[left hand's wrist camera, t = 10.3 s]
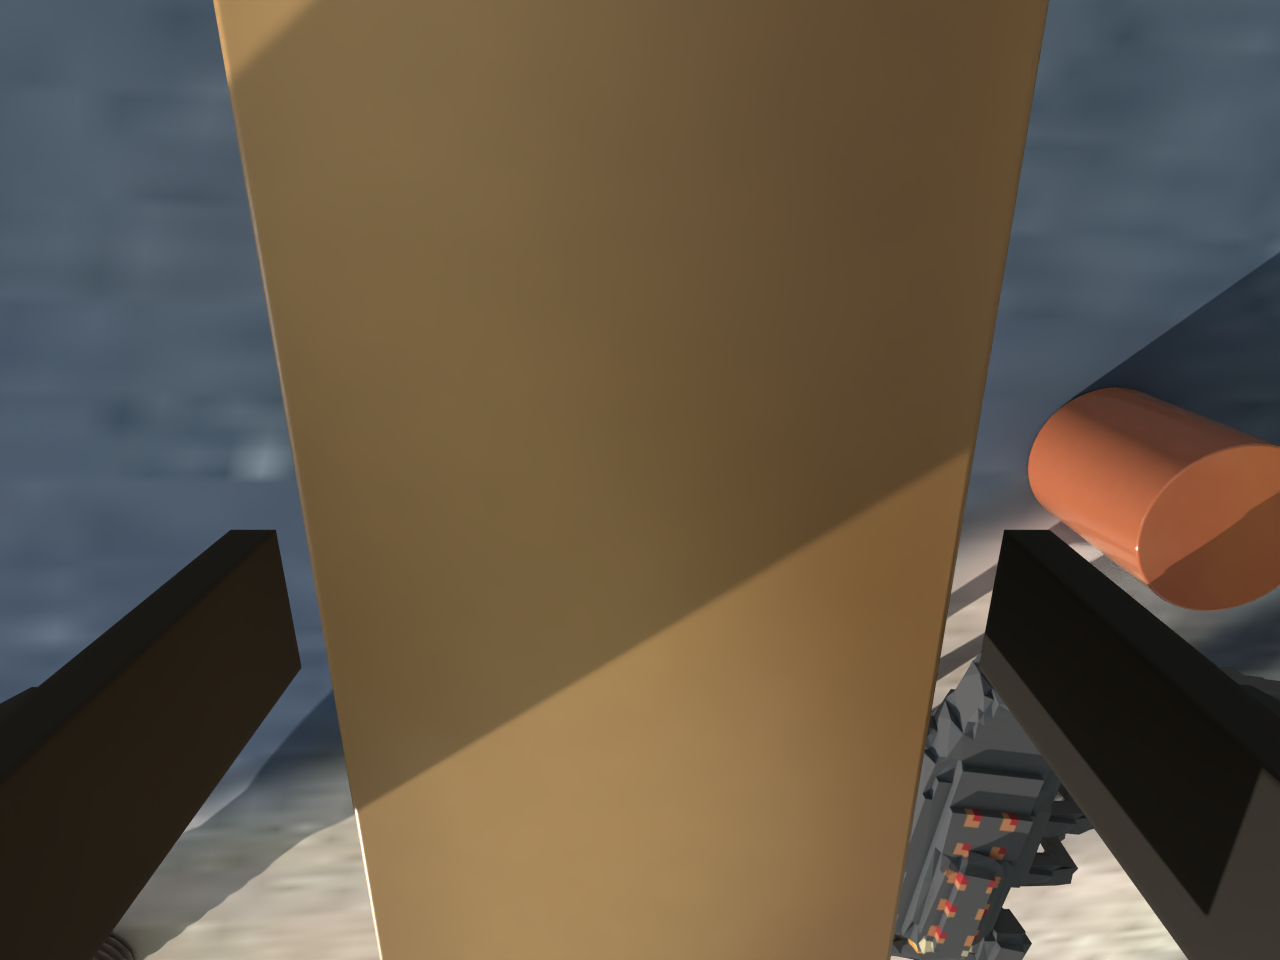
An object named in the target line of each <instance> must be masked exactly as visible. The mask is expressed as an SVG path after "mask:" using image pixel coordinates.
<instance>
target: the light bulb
mask: <svg viewBox="0 0 1280 960" xmlns="http://www.w3.org/2000/svg"><path fill="white" fill-rule="evenodd" d="M92 960H133V958H132V956H131V953H130V952H129V951H128V949H127V948H126V947H125V946H124V945H123V944H121V943H120V942H119V941H117V940H116V939H114V938H112V937H110V936H108V937H107V939H106V940H105V942H104V943H103V944H102V946H101V947H100V949H99V950H98V951H97V953H96V954H95V955H94V957H93V958H92Z"/></svg>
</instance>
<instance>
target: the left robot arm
mask: <svg viewBox="0 0 1280 960" xmlns="http://www.w3.org/2000/svg"><path fill="white" fill-rule="evenodd" d="M300 669H301V662H300V657H299V652H298V646H297V641H296V636H295V630H294V625H293V620H292V614H291V609H290V604H289V598H288V593H287V587H286V582H285V577H284V571H283V566H282V561H281V555H280V550H279V545H278V539H277V534H276V530H230V531H229V532H228V533H226V534H225V535H224V536H223V537H221V538H220V539H219V540H218V541H216V542H215V543H214V544H213V545H212V546H210V547H209V548H208V549H207V550H205V551H204V552H203V553H202V554H201V555H199V556H198V557H197V558H196V559H194V560H193V561H192V562H191V563H189V564H188V565H187V566H186V567H185V568H183V569H182V570H181V571H180V572H178V573H177V574H176V575H175V576H174V577H172V578H171V579H170V580H169V581H167V582H166V583H165V584H164V585H163V586H161V587H160V588H159V589H158V590H156V591H155V592H154V593H153V594H151V595H150V596H149V597H148V598H147V599H145V600H144V601H143V602H142V603H140V604H139V605H138V606H137V607H136V608H134V609H133V610H132V611H131V612H129V613H128V614H127V615H126V616H124V617H123V618H122V619H121V620H120V621H118V622H117V623H116V624H115V625H113V626H112V627H111V628H110V629H109V630H107V631H106V632H105V633H104V634H102V635H101V636H100V637H99V638H98V639H96V640H95V641H94V642H93V643H91V644H90V645H89V646H88V647H86V648H85V649H84V650H83V651H82V652H80V653H79V654H78V655H77V656H75V657H74V658H73V659H72V660H71V661H69V662H68V663H67V664H66V665H64V666H63V667H62V668H61V669H60V670H58V671H57V672H56V673H55V674H53V675H52V676H51V677H50V678H48V679H47V680H46V681H45V682H44V683H42V684H41V685H40V686H39V687H31V688H29V689H27V690H25V691H23V692H22V693H20V694H18V695H16V696H14V697H12V698H10V699H8V700H6V701H5V702H3V703H1V704H0V960H92V958H93V957H94V955H95V954H96V953H97V951H98V950H99V949H100V947H101V946H102V944H103V943H104V942H105V940H106V939H107V937H108V936H109V935H110V933H111V932H112V930H113V929H114V928H115V926H116V925H117V923H118V922H119V921H120V919H121V918H122V917H123V915H124V914H125V912H126V911H127V910H128V908H129V907H130V905H131V904H132V903H133V901H134V900H135V898H136V897H137V896H138V894H139V893H140V891H141V890H142V889H143V887H144V886H145V885H146V883H147V882H148V880H149V879H150V878H151V876H152V875H153V873H154V872H155V871H156V869H157V868H158V866H159V865H160V864H161V862H162V861H163V859H164V858H165V857H166V855H167V854H168V852H169V851H170V850H171V848H172V847H173V846H174V844H175V843H176V841H177V840H178V839H179V837H180V836H181V834H182V833H183V832H184V830H185V829H186V827H187V826H188V825H189V823H190V822H191V820H192V819H193V818H194V816H195V815H196V814H197V812H198V811H199V809H200V808H201V807H202V805H203V804H204V802H205V801H206V800H207V798H208V797H209V795H210V794H211V793H212V791H213V790H214V788H215V787H216V786H217V784H218V783H219V781H220V780H221V779H222V777H223V776H224V775H225V773H226V772H227V770H228V769H229V768H230V766H231V765H232V763H233V762H234V761H235V759H236V758H237V756H238V755H239V754H240V752H241V751H242V749H243V748H244V747H245V745H246V744H247V743H248V741H249V740H250V738H251V737H252V736H253V734H254V733H255V731H256V730H257V729H258V727H259V726H260V724H261V723H262V722H263V720H264V719H265V717H266V716H267V715H268V713H269V712H270V710H271V709H272V708H273V706H274V705H275V704H276V702H277V701H278V699H279V698H280V697H281V695H282V694H283V692H284V691H285V690H286V688H287V687H288V685H289V684H290V683H291V681H292V680H293V678H294V677H295V676H296V674H297V673H298V672H299V670H300ZM979 669H980V670H981V672H982V673H983V674H984V676H985V677H986V678H987V680H988V681H989V683H990V684H991V685H992V687H993V688H994V690H995V691H996V692H997V694H998V695H999V697H1000V698H1001V699H1002V701H1003V702H1004V704H1005V705H1006V706H1007V708H1008V709H1009V711H1010V712H1011V713H1012V715H1013V716H1014V717H1015V719H1016V720H1017V722H1018V723H1019V724H1020V726H1021V727H1022V729H1023V730H1024V731H1025V733H1026V734H1027V736H1028V737H1029V738H1030V740H1031V741H1032V743H1033V744H1034V745H1035V747H1036V748H1037V749H1038V751H1039V752H1040V754H1041V755H1042V756H1043V758H1044V759H1045V761H1046V762H1047V763H1048V765H1049V766H1050V768H1051V769H1052V770H1053V772H1054V773H1055V775H1056V776H1057V777H1058V779H1059V780H1060V782H1061V783H1062V784H1063V786H1064V787H1065V788H1066V790H1067V791H1068V793H1069V794H1070V795H1071V797H1072V798H1073V800H1074V801H1075V802H1076V804H1077V805H1078V807H1079V808H1080V809H1081V811H1082V812H1083V814H1084V815H1085V816H1086V818H1087V819H1088V820H1089V822H1090V823H1091V825H1092V826H1093V827H1094V829H1095V830H1096V832H1097V833H1098V834H1099V836H1100V837H1101V839H1102V840H1103V841H1104V843H1105V844H1106V846H1107V847H1108V848H1109V850H1110V851H1111V853H1112V854H1113V855H1114V857H1115V858H1116V859H1117V861H1118V862H1119V864H1120V865H1121V866H1122V868H1123V869H1124V871H1125V872H1126V873H1127V875H1128V876H1129V878H1130V879H1131V880H1132V882H1133V883H1134V885H1135V886H1136V887H1137V889H1138V890H1139V891H1140V893H1141V894H1142V896H1143V897H1144V898H1145V900H1146V901H1147V903H1148V904H1149V905H1150V907H1151V908H1152V910H1153V911H1154V912H1155V914H1156V915H1157V917H1158V918H1159V919H1160V921H1161V922H1162V924H1163V925H1164V926H1165V928H1166V929H1167V930H1168V932H1169V933H1170V935H1171V936H1172V937H1173V939H1174V940H1175V942H1176V943H1177V944H1178V946H1179V947H1180V949H1181V950H1182V951H1183V953H1184V954H1185V956H1186V957H1187V958H1188V960H1280V700H1278V699H1276V698H1274V697H1272V696H1270V695H1268V694H1266V693H1264V692H1262V691H1261V690H1259V689H1257V688H1255V687H1253V686H1251V685H1239V684H1238V683H1236V682H1235V681H1234V680H1233V679H1232V678H1230V677H1229V676H1228V675H1227V674H1225V673H1224V672H1223V671H1222V670H1220V669H1219V668H1218V667H1217V666H1216V665H1214V664H1213V663H1212V662H1211V661H1209V660H1208V659H1207V658H1206V657H1205V656H1203V655H1202V654H1201V653H1200V652H1198V651H1197V650H1196V649H1195V648H1194V647H1192V646H1191V645H1190V644H1189V643H1187V642H1186V641H1185V640H1184V639H1182V638H1181V637H1180V636H1179V635H1178V634H1176V633H1175V632H1174V631H1173V630H1171V629H1170V628H1169V627H1168V626H1167V625H1165V624H1164V623H1163V622H1162V621H1160V620H1159V619H1158V618H1157V617H1155V616H1154V615H1153V614H1152V613H1151V612H1149V611H1148V610H1147V609H1146V608H1144V607H1143V606H1142V605H1141V604H1140V603H1138V602H1137V601H1136V600H1135V599H1133V598H1132V597H1131V596H1130V595H1129V594H1127V593H1126V592H1125V591H1124V590H1122V589H1121V588H1120V587H1119V586H1117V585H1116V584H1115V583H1114V582H1113V581H1111V580H1110V579H1109V578H1108V577H1106V576H1105V575H1104V574H1103V573H1102V572H1100V571H1099V570H1098V569H1097V568H1095V567H1094V566H1093V565H1092V564H1090V563H1089V562H1088V561H1087V560H1086V559H1084V558H1083V557H1082V556H1081V555H1079V554H1078V553H1077V552H1076V551H1075V550H1073V549H1072V548H1071V547H1070V546H1068V545H1067V544H1066V543H1065V542H1064V541H1062V540H1061V539H1060V538H1059V537H1057V536H1056V535H1055V534H1054V533H1052V532H1051V531H1050V530H1004V534H1003V539H1002V545H1001V550H1000V555H999V561H998V566H997V571H996V577H995V582H994V587H993V593H992V598H991V603H990V609H989V614H988V619H987V625H986V630H985V636H984V641H983V646H982V652H981V657H980V662H979Z"/></svg>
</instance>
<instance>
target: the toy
mask: <svg viewBox="0 0 1280 960" xmlns="http://www.w3.org/2000/svg"><path fill="white" fill-rule="evenodd" d="M980 657H981V652H980V653H979V655H978V656H977V657H976V659H975V660H973V661H972V663H971V665H970V667H969V668H968V670H967V672H966V674H965V675H964V677H963V679H962V680H961V682H960V683H959V685H958V687H957V688H956V690H954V689H951V690H950V691H949V693H948V694H947V696H946V697H945V699H944V700H943V702H942V704H941V706H940V707H939V709H938V711H937V712H936V714H935V716H930V722H929V728H928V734H927V740H926V746H925V752H924V758H923V764H922V770H921V776H920V782H919V788H918V794H917V800H916V806H915V813H914V819H913V825H912V831H911V837H910V843H909V849H908V855H907V861H906V867H905V873H904V879H903V885H902V891H901V897H900V903H899V909H898V915H897V921H896V927H895V933H894V939H893V945H892V951H891V956H898V957H904V958H909V959H914V960H1022V959H1023V957H1024V956H1025V954H1026V952H1027V951H1028V949H1029V947H1030V946H1031V944H1032V943H1031V941H1030V940H1029V938H1028V937H1027V935H1026V934H1025V930H1024V929H1023V928H1022V926H1021V925H1020V923H1019V922H1018V921H1017V919H1016V918H1015V916H1014V915H1013V914H1012V912H1011V911H1010V910H1009V909H1003V908H1002V906H1003V904H1004V901H1005V899H1006V897H1007V895H1008V892H1009V890H1010V888H1011V887H1016V888H1020V886H1053V885H1063V884H1071V880H1072V875H1073V873H1074V872H1075V871H1076V870H1077V869H1078V868H1077V866H1076V865H1075V863H1074V862H1073V860H1072V859H1071V857H1070V855H1069V854H1068V852H1067V851H1066V849H1065V848H1064V846H1063V845H1062V843H1061V842H1060V841H1062V840H1063V839H1065V834H1066V833H1068V834H1078V835H1079V834H1081V833H1084V832H1086V831H1088V830H1091V829H1094V827H1093V826H1092V825H1091V823H1090V822H1089V820H1088V819H1087V818H1086V816H1085V815H1084V814H1083V812H1082V811H1081V809H1080V808H1079V807H1078V805H1077V804H1076V802H1075V801H1074V800H1073V798H1072V797H1071V795H1070V794H1069V793H1068V791H1067V790H1066V788H1065V787H1064V786H1063V784H1062V783H1061V782H1060V780H1059V779H1058V777H1057V776H1056V775H1055V773H1054V772H1053V770H1052V769H1051V768H1050V766H1049V765H1048V763H1047V762H1046V761H1045V759H1044V758H1043V756H1042V755H1041V754H1040V752H1039V751H1038V749H1037V748H1036V747H1035V745H1034V744H1033V743H1032V741H1031V740H1030V738H1029V737H1028V736H1027V734H1026V733H1025V731H1024V730H1023V729H1022V727H1021V726H1020V724H1019V723H1018V722H1017V720H1016V719H1015V717H1014V716H1013V715H1012V713H1011V712H1010V711H1009V709H1008V708H1007V706H1006V705H1005V704H1004V702H1003V701H1002V699H1001V698H1000V697H999V695H998V694H997V692H996V691H995V690H994V688H993V687H992V685H991V684H990V683H989V681H988V680H987V678H986V677H985V676H984V674H983V673H982V672H981V670H980V669H979V662H980ZM1209 661H1210V660H1209ZM1213 664H1214V663H1213ZM1214 665H1215V664H1214ZM1218 668H1219V669H1220V670H1222V671H1223V672H1224V673H1225V674H1227V675H1228V676H1229V677H1230V678H1232V679H1233V680H1234V681H1235V682H1236V683H1238V684H1239V685H1251V686H1253V687H1255V688H1257V689H1259V690H1261V691H1262V692H1264V693H1266V694H1268V695H1270V696H1272V697H1274V698H1276V699H1278V700H1280V681H1274V680H1266V679H1264V678H1261V677H1253V676H1245V675H1243V674H1241V673H1240V672H1239V671H1237V670H1236V669H1235V668H1231V667H1218ZM1057 791H1059V792H1060V794H1061V795H1062V796H1063V798H1064V799H1065V801H1054V799H1055V796H1056V794H1057ZM1040 843H1041V845H1042V847H1043V849H1044V850H1045V851H1044V852H1043V853H1036V852H1037V850H1038V847H1039V844H1040Z"/></svg>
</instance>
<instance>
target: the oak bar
mask: <svg viewBox="0 0 1280 960" xmlns="http://www.w3.org/2000/svg"><path fill="white" fill-rule="evenodd" d="M213 1H214V7H215V12H216V18H217V24H218V30H219V35H220V41H221V47H222V53H223V58H224V64H225V70H226V76H227V82H228V87H229V93H230V99H231V105H232V110H233V116H234V122H235V128H236V133H237V139H238V145H239V151H240V156H241V162H242V168H243V174H244V179H245V185H246V191H247V197H248V203H249V208H250V214H251V220H252V226H253V231H254V237H255V243H256V249H257V254H258V260H259V266H260V272H261V277H262V283H263V289H264V295H265V300H266V306H267V312H268V318H269V324H270V329H271V335H272V341H273V347H274V352H275V358H276V364H277V370H278V375H279V381H280V387H281V393H282V398H283V404H284V410H285V416H286V421H287V427H288V433H289V439H290V445H291V450H292V456H293V462H294V468H295V473H296V479H297V485H298V491H299V496H300V502H301V508H302V514H303V519H304V525H305V531H306V537H307V542H308V548H309V554H310V560H311V566H312V571H313V577H314V583H315V589H316V594H317V600H318V606H319V612H320V617H321V623H322V629H323V635H324V640H325V646H326V652H327V658H328V663H329V669H330V675H331V681H332V686H333V692H334V698H335V704H336V710H337V715H338V721H339V727H340V733H341V738H342V744H343V750H344V756H345V761H346V767H347V773H348V779H349V784H350V790H351V796H352V802H353V807H354V813H355V819H356V825H357V831H358V836H359V842H360V848H361V854H362V859H363V865H364V871H365V877H366V882H367V888H368V894H369V900H370V905H371V911H372V917H373V923H374V928H375V934H376V940H377V946H378V952H379V957H380V960H890V957H891V951H892V945H893V939H894V933H895V927H896V921H897V915H898V909H899V903H900V897H901V891H902V885H903V879H904V873H905V867H906V861H907V855H908V849H909V843H910V837H911V831H912V825H913V819H914V813H915V806H916V800H917V794H918V788H919V782H920V776H921V770H922V764H923V758H924V752H925V746H926V740H927V734H928V728H929V722H930V716H931V710H932V704H933V698H934V692H935V686H936V680H937V674H938V668H939V662H940V656H941V650H942V643H943V637H944V631H945V625H946V619H947V613H948V607H949V601H950V595H951V589H952V583H953V577H954V571H955V565H956V559H957V553H958V547H959V541H960V535H961V529H962V523H963V517H964V511H965V505H966V499H967V493H968V486H969V480H970V474H971V468H972V462H973V456H974V450H975V444H976V438H977V432H978V426H979V420H980V414H981V408H982V402H983V396H984V390H985V384H986V378H987V372H988V366H989V360H990V354H991V348H992V342H993V336H994V330H995V323H996V317H997V311H998V305H999V299H1000V293H1001V287H1002V281H1003V275H1004V269H1005V263H1006V257H1007V251H1008V245H1009V239H1010V233H1011V227H1012V221H1013V215H1014V209H1015V203H1016V197H1017V191H1018V185H1019V179H1020V173H1021V167H1022V160H1023V154H1024V148H1025V142H1026V136H1027V130H1028V124H1029V118H1030V112H1031V106H1032V100H1033V94H1034V88H1035V82H1036V76H1037V70H1038V64H1039V58H1040V52H1041V46H1042V40H1043V34H1044V28H1045V22H1046V16H1047V10H1048V3H1049V0H213Z"/></svg>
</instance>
